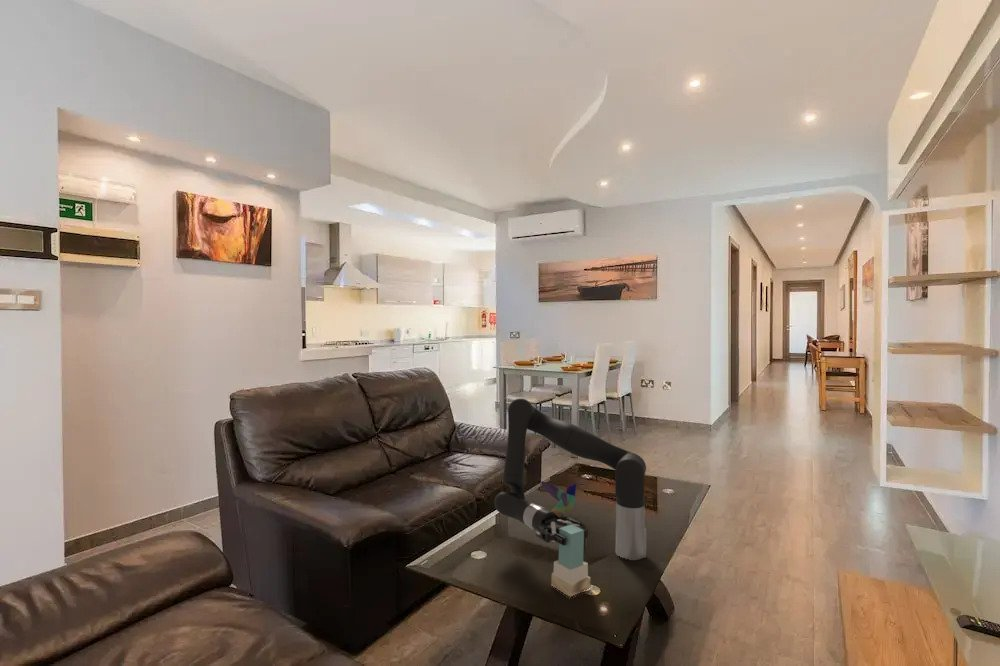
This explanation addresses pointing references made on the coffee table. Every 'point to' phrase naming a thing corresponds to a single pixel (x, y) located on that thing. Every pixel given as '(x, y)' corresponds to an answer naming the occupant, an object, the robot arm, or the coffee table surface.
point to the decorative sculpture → (562, 497)
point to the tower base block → (569, 588)
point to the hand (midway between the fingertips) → (576, 538)
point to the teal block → (571, 546)
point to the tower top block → (570, 572)
